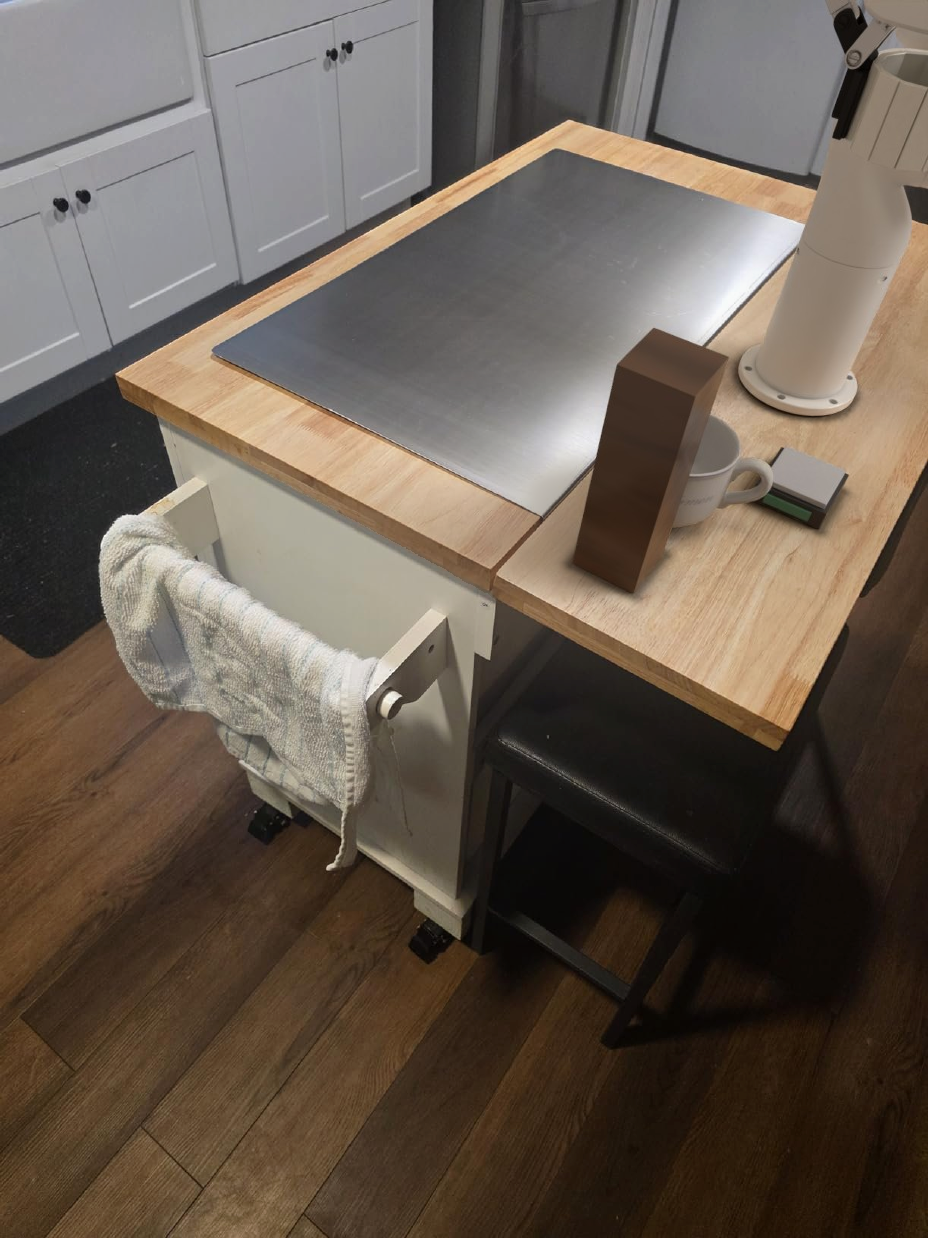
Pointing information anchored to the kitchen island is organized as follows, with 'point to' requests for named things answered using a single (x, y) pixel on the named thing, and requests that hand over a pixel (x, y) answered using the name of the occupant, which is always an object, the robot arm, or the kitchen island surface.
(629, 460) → the block
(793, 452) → the scale
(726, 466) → the teacup
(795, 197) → the kitchen island surface
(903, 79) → the white faceted cup
